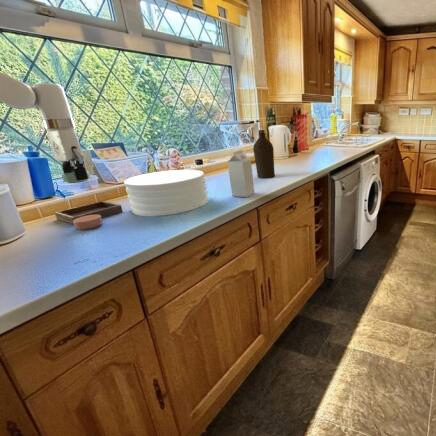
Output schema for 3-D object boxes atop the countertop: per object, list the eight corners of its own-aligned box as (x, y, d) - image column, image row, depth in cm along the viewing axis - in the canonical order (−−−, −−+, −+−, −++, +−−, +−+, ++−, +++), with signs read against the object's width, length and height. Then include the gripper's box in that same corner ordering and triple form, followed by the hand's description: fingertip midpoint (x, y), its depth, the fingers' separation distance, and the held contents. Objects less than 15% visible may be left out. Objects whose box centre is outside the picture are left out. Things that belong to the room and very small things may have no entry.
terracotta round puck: (82, 232, 96) (79, 223, 95) (71, 228, 99) (68, 220, 98) (107, 224, 102) (105, 216, 101) (96, 221, 105) (94, 213, 104)
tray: (74, 225, 102) (72, 217, 101) (56, 219, 108) (54, 212, 107) (122, 211, 115) (120, 204, 114) (104, 207, 121) (102, 200, 120)
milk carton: (232, 196, 130) (225, 152, 124) (240, 192, 137) (234, 149, 130) (247, 197, 128) (241, 152, 122) (254, 193, 135) (249, 149, 128)
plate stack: (222, 200, 125) (218, 173, 121) (155, 221, 104) (147, 188, 100) (184, 192, 140) (179, 167, 136) (118, 208, 119) (110, 180, 115)
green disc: (70, 184, 99) (67, 175, 98) (60, 182, 103) (57, 174, 102) (95, 180, 105) (92, 171, 104) (85, 178, 109) (82, 170, 108)
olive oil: (278, 177, 165) (274, 129, 157) (259, 179, 161) (253, 131, 152) (272, 173, 174) (268, 128, 166) (254, 176, 170) (249, 130, 161)
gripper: (34, 125, 99) (52, 178, 105) (57, 125, 90) (76, 183, 96) (61, 124, 105) (77, 174, 111) (86, 124, 96) (101, 178, 102)
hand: (76, 178), depth 104 cm, fingers closed on green disc, 7 cm apart
